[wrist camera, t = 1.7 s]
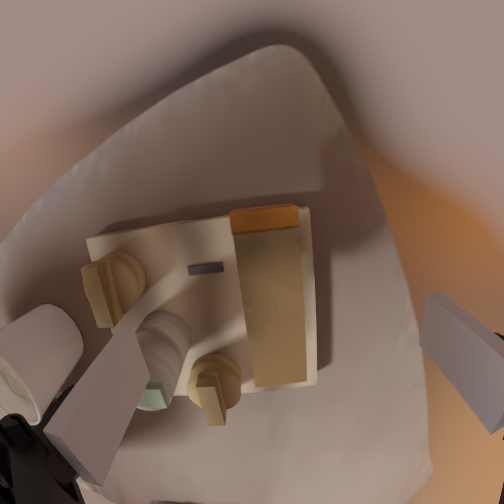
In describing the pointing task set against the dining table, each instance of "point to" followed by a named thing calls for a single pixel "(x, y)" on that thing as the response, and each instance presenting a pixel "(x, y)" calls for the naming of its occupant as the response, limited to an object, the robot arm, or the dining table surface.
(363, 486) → the dining table surface
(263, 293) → the wing knob
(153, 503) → the ceramic cottage
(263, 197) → the dining table surface
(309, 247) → the beige square board
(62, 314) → the candle holder
